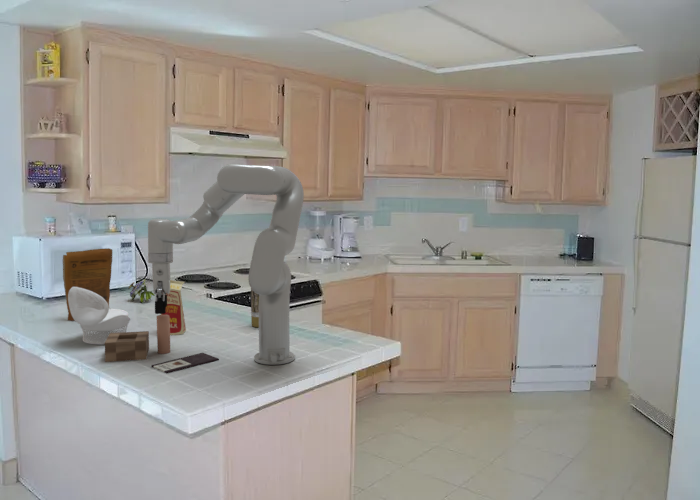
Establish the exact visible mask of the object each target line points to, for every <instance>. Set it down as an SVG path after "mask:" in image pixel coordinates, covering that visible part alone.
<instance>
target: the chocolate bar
mask: <svg viewBox="0 0 700 500" xmlns="http://www.w3.org/2000/svg"><path fill="white" fill-rule="evenodd" d="M219 361H220V358H219V357H216V356H214V355H210V354H207V353H206V352H200V353H195V354H192V355H188V356H183V357H179V358H175V359H172V360H171V359H170V360H166V361H163V362H157V363H154V364H151V365H150V366H151V368H153V369H155V370H157V371H161V372H163V373H164V374H171V373H174V372H177V371H178V372H179V371H182V370H186V369H190V368H193V367H198V366H201V365H206V364H210V363H213V362H219Z"/></svg>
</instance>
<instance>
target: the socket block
mask: <svg viewBox="0 0 700 500" xmlns="http://www.w3.org/2000/svg"><path fill="white" fill-rule="evenodd" d="M149 333H150V332H149V330H146V331H145V330H143V331H128V332H127V331H126V332H123V333H110V334H109V336H108V338H107V339H105V340H106V341H105V344H104V361H105V363H109V362H110V363H111V362H125V361H139V360H141V361H142V360H147V358H148V355H149V351H150V336H149Z"/></svg>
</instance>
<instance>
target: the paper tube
mask: <svg viewBox="0 0 700 500" xmlns="http://www.w3.org/2000/svg"><path fill="white" fill-rule="evenodd" d="M250 305H251V306H250V311H251V312H250V316H251V318H250V319H251V320H250V321H251V322H250V323H251V326H252V327H253V328H259V294H257V293H255V292H254V291H253V290H252V289H251V288H250Z"/></svg>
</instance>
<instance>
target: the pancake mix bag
mask: <svg viewBox="0 0 700 500" xmlns="http://www.w3.org/2000/svg"><path fill="white" fill-rule="evenodd" d="M65 253H66V254H63V255H62V279H63V287H64V293H65V301H66V303H65V304H66V307H67V313H68V314H67V321H69V322H70V321H71V322H76V321H75V320H74V319H73V317H72V315H71V312H70V308H69V303H68V293H69V290H70V289H71V288H72V287H79V288H83V289H87V290H90V291H92V292H94V293H96V294H98V295H100V296H101V297H102V298H104V299H105V300H106V302H107V303H108V305H109V306H110V296H111V294H110V293H111V291H110V289H111V287H110V286H111V279H112V265H113V249H111V248H109V247H108V248H107V247H106V248H94V249H93V248H91V249H86V250H75V251H67V252H65ZM80 292H81V291H80ZM80 292H79V293H80ZM77 293H78V292H77ZM89 294H90V293H89ZM78 295H79V294H78ZM78 295H77V296H78ZM85 295H88V294H87V293H86V294H85ZM89 296H90V295H89ZM69 297H70V296H69ZM79 297H80V296H79ZM79 297H78V298H79ZM81 297H82V296H81ZM83 298H84V297H83ZM91 298H92V299H93V298H94V296H93V297H91ZM91 298H90V300H91ZM95 298H96V297H95ZM79 299H80V298H79ZM84 299H85V298H84ZM81 300H82V298H81ZM96 300H98V299H97V298H96ZM100 300H101V299H100ZM84 301H86V300H84ZM91 301H92V300H91ZM79 302H80V301H79ZM88 302H89V303H90V301H89V300H88ZM101 302H102V301H101ZM96 303H97V302H96ZM82 304H83V303H82ZM85 304H87V303H85ZM90 304H91V303H90ZM102 304H103V303H102ZM100 305H101V304H100ZM103 305H105V304H103ZM103 305H102V306H103ZM85 306H86V305H85ZM88 306H89V305H88ZM92 306H93V304H92ZM98 306H99V301H98ZM98 306H97V308H98ZM94 307H95V306H94ZM94 307H93V308H94ZM103 307H104V306H103ZM78 308H79V307H78ZM80 308H82V307H80ZM90 308H91V306H90ZM95 308H96V307H95ZM82 309H83V308H82ZM100 309H101V308H100V307H99V309H98V310H100ZM90 311H91V310H90ZM88 312H89V311H88Z"/></svg>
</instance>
